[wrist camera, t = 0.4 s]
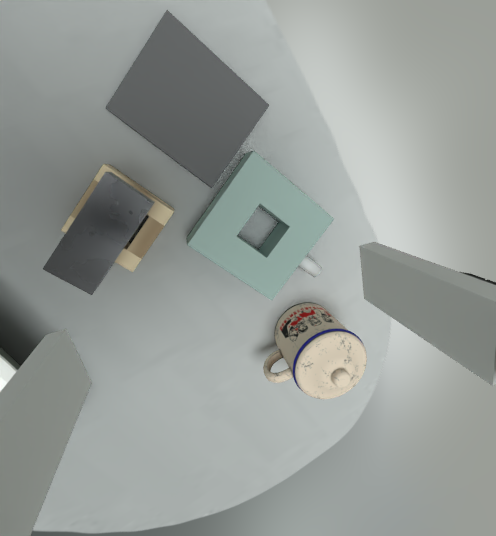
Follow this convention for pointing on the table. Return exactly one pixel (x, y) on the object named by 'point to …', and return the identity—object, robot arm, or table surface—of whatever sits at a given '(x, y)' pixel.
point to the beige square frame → (146, 234)
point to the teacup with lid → (317, 352)
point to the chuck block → (281, 238)
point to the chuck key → (99, 233)
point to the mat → (187, 101)
